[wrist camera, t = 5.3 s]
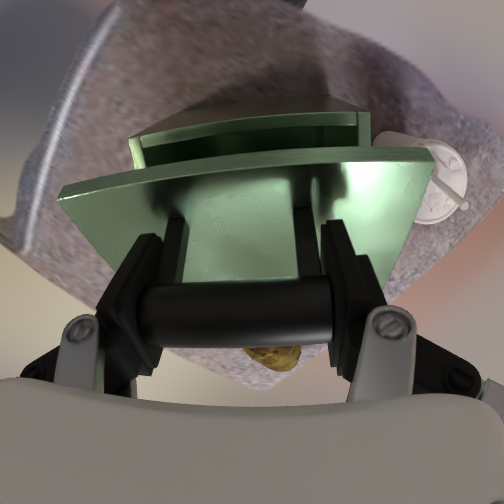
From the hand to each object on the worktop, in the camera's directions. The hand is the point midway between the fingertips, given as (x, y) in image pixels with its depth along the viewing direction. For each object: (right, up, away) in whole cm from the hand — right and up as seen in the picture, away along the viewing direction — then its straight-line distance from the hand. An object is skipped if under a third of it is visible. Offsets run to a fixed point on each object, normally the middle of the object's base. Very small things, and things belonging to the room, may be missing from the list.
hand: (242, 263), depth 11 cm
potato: (+3, -9, +29) cm, 30 cm away
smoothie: (+14, +10, +15) cm, 23 cm away
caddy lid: (+1, -1, +6) cm, 6 cm away
